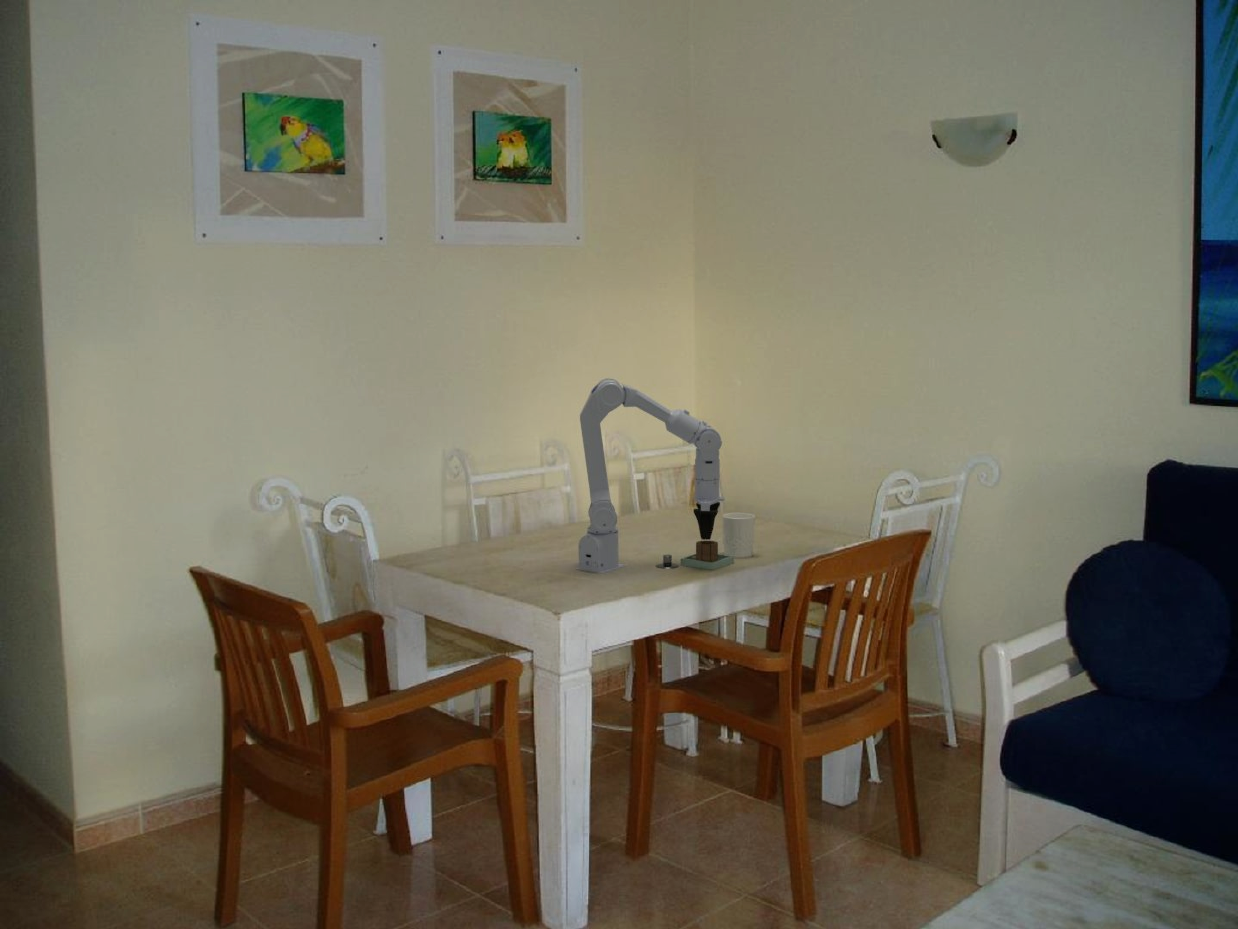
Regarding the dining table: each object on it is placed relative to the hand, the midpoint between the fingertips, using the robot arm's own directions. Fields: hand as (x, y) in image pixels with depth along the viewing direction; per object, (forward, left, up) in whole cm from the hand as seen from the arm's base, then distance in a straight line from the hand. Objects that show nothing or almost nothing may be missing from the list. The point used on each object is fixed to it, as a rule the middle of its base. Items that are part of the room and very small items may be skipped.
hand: (706, 536), depth 300 cm
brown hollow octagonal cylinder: (0, 0, -7) cm, 7 cm away
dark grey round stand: (-7, +6, -7) cm, 12 cm away
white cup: (+13, -1, -7) cm, 15 cm away
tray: (0, 0, -7) cm, 7 cm away
